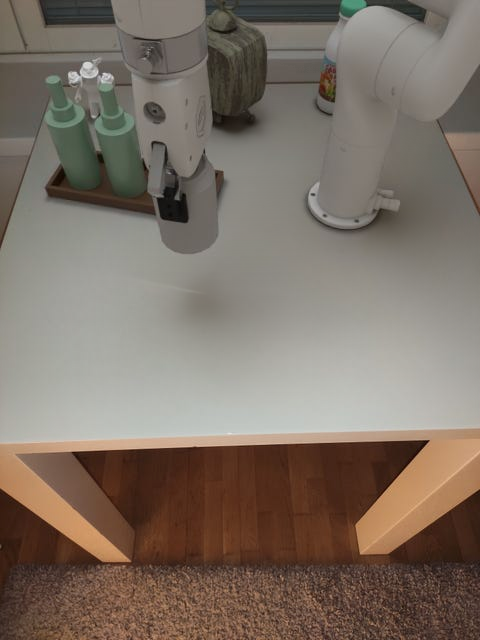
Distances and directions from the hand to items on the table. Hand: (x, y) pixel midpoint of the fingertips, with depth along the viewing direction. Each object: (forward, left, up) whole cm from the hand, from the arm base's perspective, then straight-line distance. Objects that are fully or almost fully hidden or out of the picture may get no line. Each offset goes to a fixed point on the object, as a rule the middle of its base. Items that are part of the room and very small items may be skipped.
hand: (184, 194), depth 56 cm
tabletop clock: (+7, -46, -22) cm, 52 cm away
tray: (+17, -21, -21) cm, 35 cm away
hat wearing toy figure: (+32, -40, -22) cm, 56 cm away
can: (0, 0, -8) cm, 8 cm away
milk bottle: (-15, -56, -22) cm, 62 cm away
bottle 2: (+19, -21, -21) cm, 35 cm away
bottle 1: (+27, -21, -21) cm, 40 cm away
